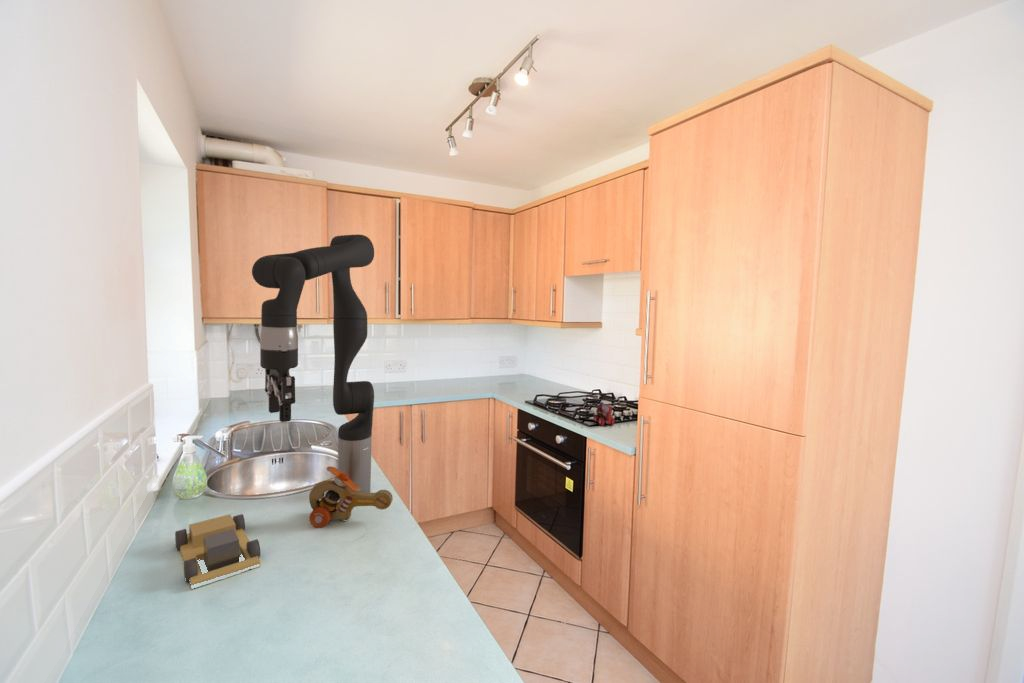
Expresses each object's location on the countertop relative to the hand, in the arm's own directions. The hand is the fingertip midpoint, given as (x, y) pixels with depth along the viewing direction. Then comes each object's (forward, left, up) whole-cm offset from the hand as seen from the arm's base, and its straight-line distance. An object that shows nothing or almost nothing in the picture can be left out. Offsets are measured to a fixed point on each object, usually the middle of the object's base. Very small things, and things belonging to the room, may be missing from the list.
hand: (279, 416), depth 101 cm
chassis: (-3, -12, -30) cm, 33 cm away
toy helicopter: (0, +16, -30) cm, 34 cm away
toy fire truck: (-15, +150, -30) cm, 154 cm away
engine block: (+2, -12, -30) cm, 32 cm away
